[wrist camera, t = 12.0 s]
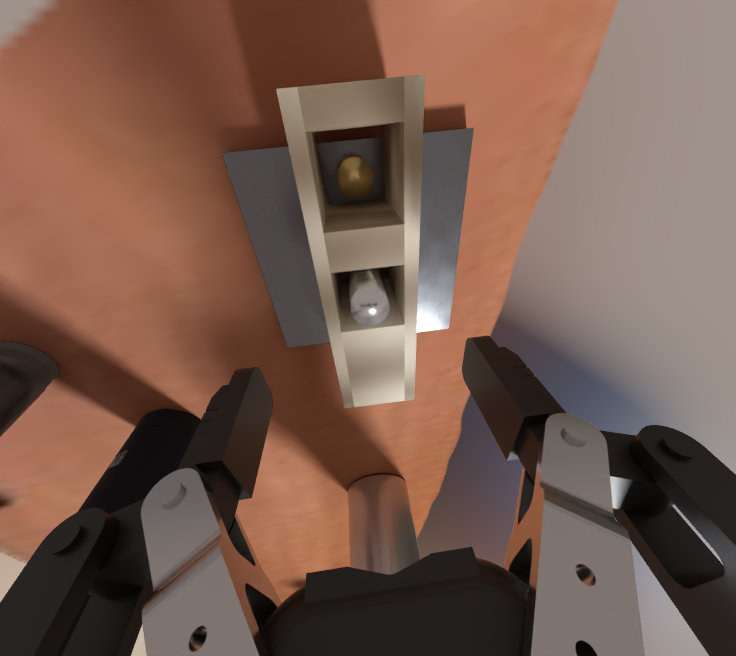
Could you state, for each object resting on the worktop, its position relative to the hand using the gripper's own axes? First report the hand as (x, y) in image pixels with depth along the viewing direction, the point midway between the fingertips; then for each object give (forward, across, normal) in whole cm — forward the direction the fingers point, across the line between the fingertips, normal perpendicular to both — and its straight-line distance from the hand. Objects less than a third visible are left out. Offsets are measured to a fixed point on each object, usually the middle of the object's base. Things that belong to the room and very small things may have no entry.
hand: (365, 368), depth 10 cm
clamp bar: (+10, -1, 0) cm, 11 cm away
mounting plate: (+12, -1, 0) cm, 12 cm away
